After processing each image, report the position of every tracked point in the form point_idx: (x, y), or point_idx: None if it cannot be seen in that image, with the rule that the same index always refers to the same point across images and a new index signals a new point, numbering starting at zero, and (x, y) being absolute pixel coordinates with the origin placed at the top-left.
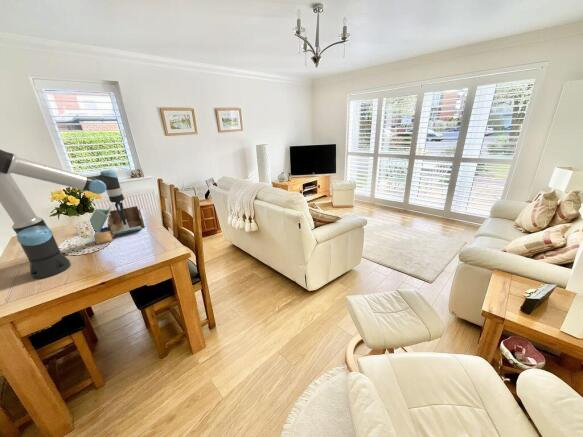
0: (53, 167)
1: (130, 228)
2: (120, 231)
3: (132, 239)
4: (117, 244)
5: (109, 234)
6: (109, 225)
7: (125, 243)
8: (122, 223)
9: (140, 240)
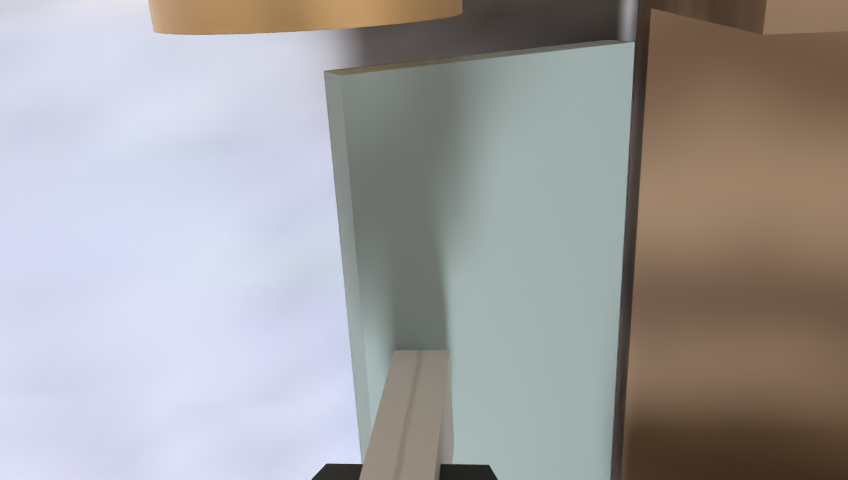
0: None
1: None
2: (345, 256)
3: (200, 349)
4: (81, 110)
5: (161, 15)
6: (743, 15)
7: (63, 242)
8: (366, 469)
9: (85, 452)
